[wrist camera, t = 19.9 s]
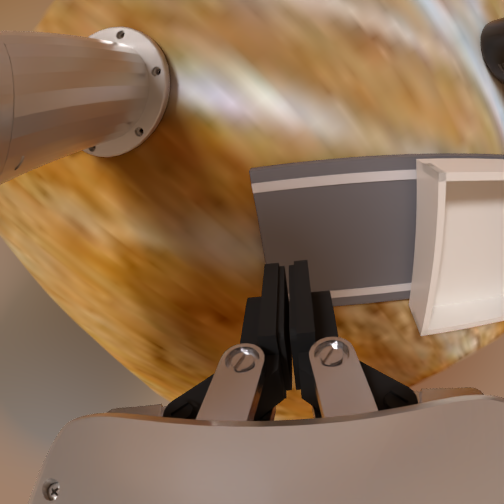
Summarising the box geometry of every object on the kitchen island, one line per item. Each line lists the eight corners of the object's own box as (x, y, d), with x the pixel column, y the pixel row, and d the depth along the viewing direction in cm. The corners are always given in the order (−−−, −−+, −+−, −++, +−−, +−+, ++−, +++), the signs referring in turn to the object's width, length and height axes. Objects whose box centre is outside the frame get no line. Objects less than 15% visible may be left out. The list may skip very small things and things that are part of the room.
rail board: (275, 304, 32) (274, 310, 31) (251, 168, 25) (248, 171, 24) (538, 273, 25) (542, 277, 24) (556, 158, 18) (562, 161, 17)
